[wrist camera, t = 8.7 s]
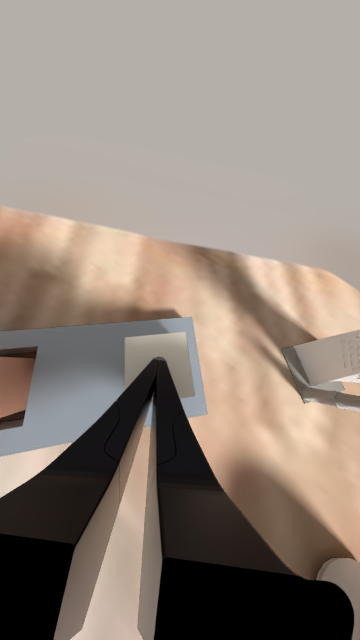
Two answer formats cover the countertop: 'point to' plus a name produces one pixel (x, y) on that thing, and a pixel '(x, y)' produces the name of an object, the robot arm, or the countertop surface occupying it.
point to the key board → (82, 378)
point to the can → (345, 583)
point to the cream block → (160, 358)
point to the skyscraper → (327, 369)
